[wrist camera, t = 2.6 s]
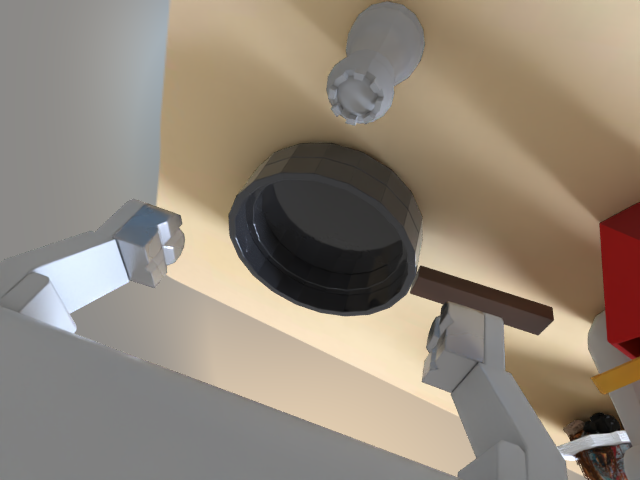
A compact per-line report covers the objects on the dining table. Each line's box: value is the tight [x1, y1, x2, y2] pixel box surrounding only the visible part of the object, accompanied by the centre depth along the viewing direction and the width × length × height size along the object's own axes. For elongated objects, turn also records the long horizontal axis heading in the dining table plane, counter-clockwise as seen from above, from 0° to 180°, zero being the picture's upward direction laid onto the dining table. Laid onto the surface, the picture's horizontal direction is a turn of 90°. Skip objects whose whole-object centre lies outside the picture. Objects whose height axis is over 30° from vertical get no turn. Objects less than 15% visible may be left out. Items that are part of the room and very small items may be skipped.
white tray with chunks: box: [557, 413, 633, 480], centre depth 40 cm, size 12×12×7 cm
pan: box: [229, 143, 423, 316], centre depth 33 cm, size 15×15×4 cm
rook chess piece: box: [326, 1, 425, 125], centre depth 21 cm, size 4×4×8 cm
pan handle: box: [410, 266, 554, 335], centre depth 31 cm, size 2×10×1 cm, turn 82°
